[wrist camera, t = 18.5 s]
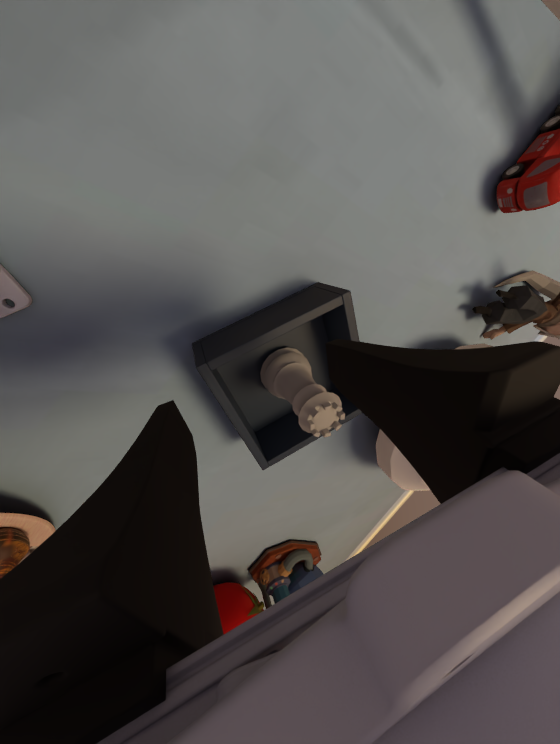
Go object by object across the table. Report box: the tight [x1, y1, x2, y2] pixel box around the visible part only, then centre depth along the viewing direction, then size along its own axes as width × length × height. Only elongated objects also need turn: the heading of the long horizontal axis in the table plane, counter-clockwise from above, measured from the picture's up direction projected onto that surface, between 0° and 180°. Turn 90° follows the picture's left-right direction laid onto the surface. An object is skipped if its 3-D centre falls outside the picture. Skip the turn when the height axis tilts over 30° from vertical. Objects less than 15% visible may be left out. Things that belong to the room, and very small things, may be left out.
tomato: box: [213, 582, 264, 634], centre depth 30 cm, size 13×11×14 cm
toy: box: [472, 271, 560, 339], centre depth 28 cm, size 11×8×15 cm
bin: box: [192, 282, 363, 470], centre depth 21 cm, size 11×11×4 cm
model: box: [249, 540, 324, 609], centre depth 35 cm, size 12×9×9 cm
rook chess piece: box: [260, 348, 345, 438], centre depth 19 cm, size 4×4×8 cm
